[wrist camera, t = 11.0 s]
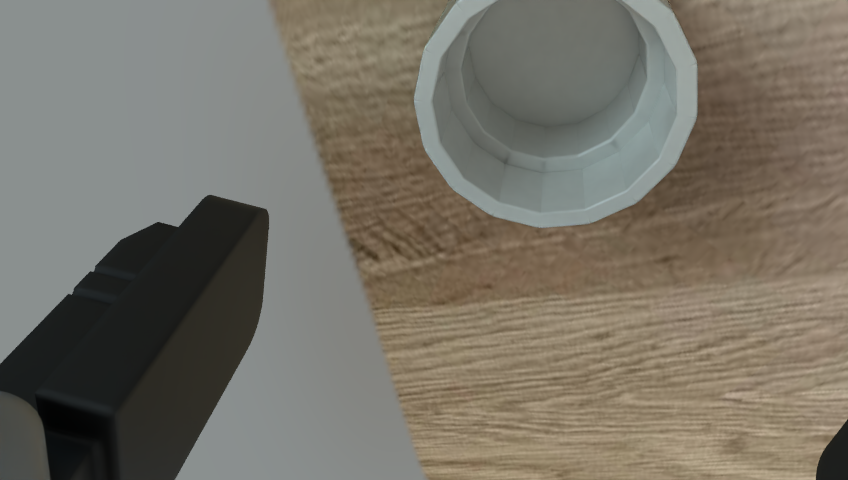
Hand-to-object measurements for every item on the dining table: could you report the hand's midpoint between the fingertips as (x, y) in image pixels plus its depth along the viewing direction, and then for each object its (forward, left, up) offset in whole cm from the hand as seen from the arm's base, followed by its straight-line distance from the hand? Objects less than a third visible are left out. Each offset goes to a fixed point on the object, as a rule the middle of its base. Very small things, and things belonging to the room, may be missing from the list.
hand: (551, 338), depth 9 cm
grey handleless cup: (0, 0, -13) cm, 13 cm away
